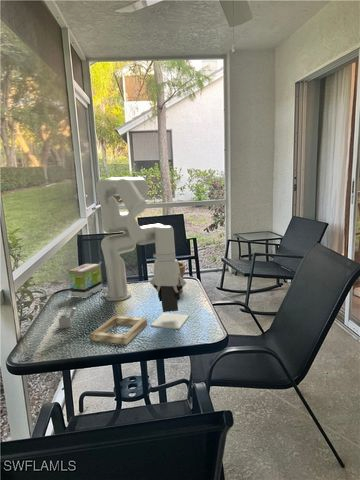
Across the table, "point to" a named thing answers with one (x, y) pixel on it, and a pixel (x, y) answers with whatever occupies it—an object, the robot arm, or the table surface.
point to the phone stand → (168, 299)
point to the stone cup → (181, 272)
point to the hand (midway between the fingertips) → (169, 300)
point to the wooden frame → (117, 338)
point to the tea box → (85, 280)
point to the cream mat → (170, 321)
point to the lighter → (66, 319)
